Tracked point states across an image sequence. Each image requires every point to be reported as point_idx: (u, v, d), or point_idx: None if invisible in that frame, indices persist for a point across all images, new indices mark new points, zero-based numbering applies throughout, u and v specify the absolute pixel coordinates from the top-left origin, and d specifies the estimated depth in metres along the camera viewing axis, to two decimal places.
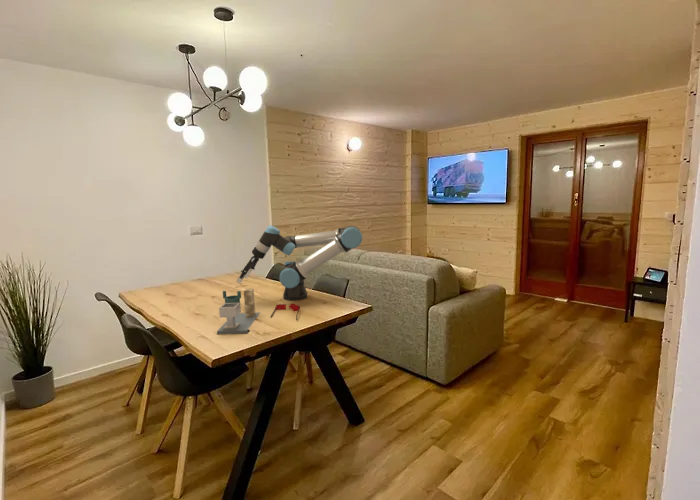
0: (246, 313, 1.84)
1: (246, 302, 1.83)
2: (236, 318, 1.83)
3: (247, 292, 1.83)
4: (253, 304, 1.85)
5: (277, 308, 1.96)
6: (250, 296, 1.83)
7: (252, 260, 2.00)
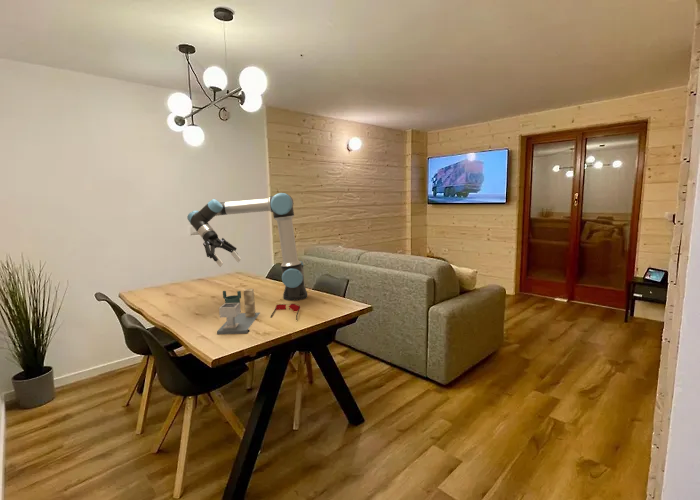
0: (246, 313, 1.84)
1: (246, 302, 1.83)
2: (236, 318, 1.83)
3: (247, 292, 1.83)
4: (253, 304, 1.85)
5: (277, 308, 1.96)
6: (250, 296, 1.83)
7: (204, 243, 1.90)
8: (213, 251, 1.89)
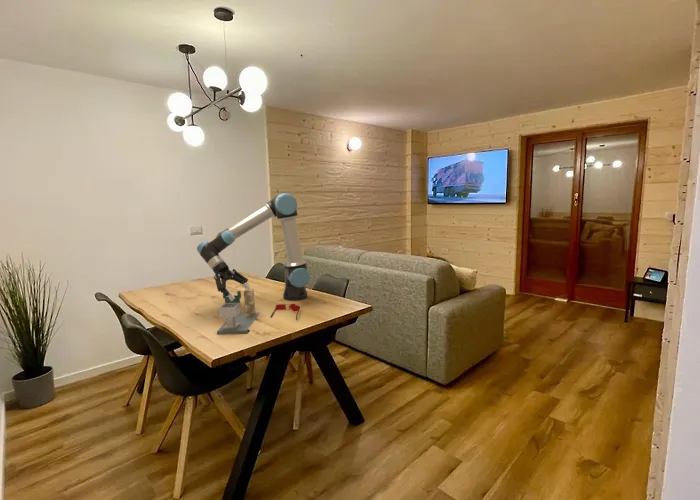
0: (246, 313, 1.84)
1: (246, 302, 1.83)
2: (236, 318, 1.83)
3: (247, 292, 1.83)
4: (253, 304, 1.85)
5: (277, 308, 1.96)
6: (250, 296, 1.83)
7: (215, 276, 1.83)
8: (224, 285, 1.81)
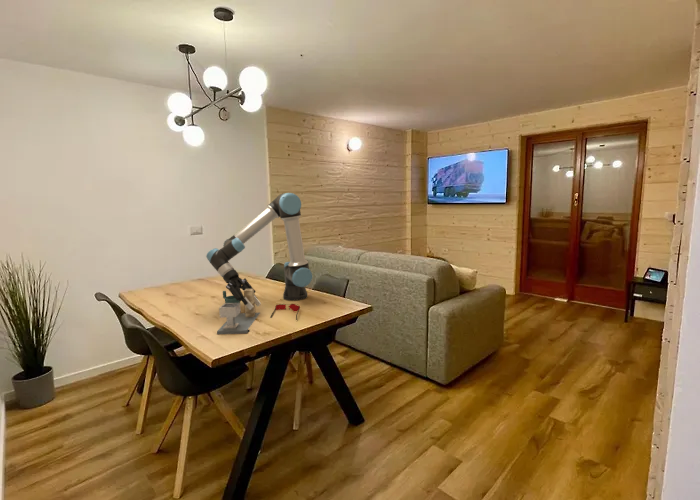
0: (246, 313, 1.84)
1: None
2: (236, 318, 1.83)
3: (247, 292, 1.83)
4: (253, 304, 1.86)
5: (277, 308, 1.96)
6: (250, 296, 1.83)
7: (228, 286, 1.81)
8: (241, 294, 1.82)
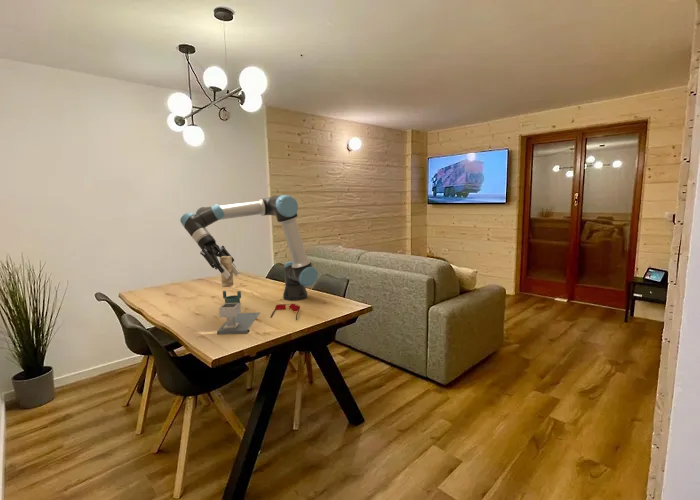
0: (222, 283, 1.66)
1: None
2: (236, 318, 1.83)
3: (224, 259, 1.65)
4: (231, 273, 1.68)
5: (277, 308, 1.96)
6: (227, 263, 1.65)
7: (202, 252, 1.64)
8: (217, 261, 1.64)
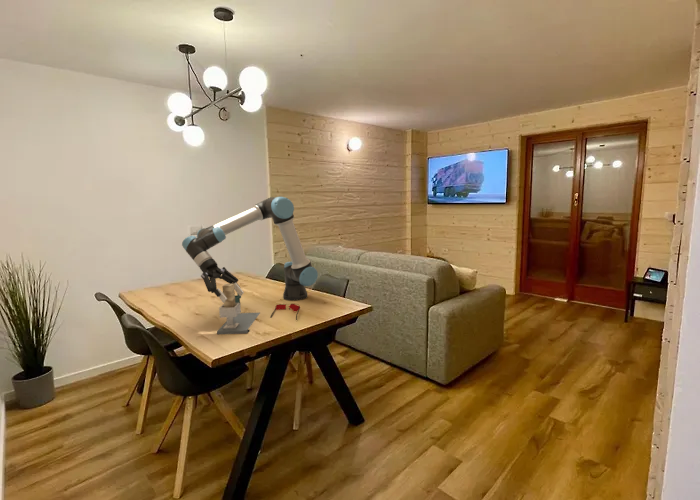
0: None
1: None
2: (236, 318, 1.83)
3: (226, 287, 1.66)
4: (233, 300, 1.69)
5: (277, 308, 1.96)
6: (229, 292, 1.67)
7: (203, 275, 1.65)
8: (215, 285, 1.64)
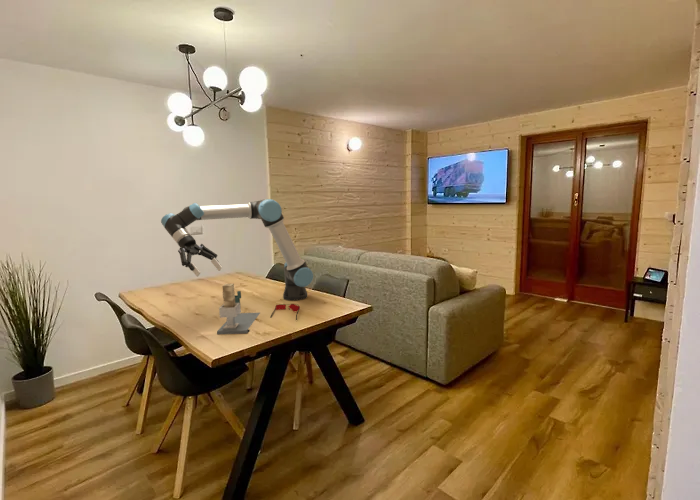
0: None
1: (225, 298, 1.67)
2: (236, 318, 1.83)
3: (226, 287, 1.67)
4: (233, 300, 1.69)
5: (277, 308, 1.96)
6: (229, 292, 1.67)
7: (179, 250, 1.69)
8: (189, 259, 1.67)
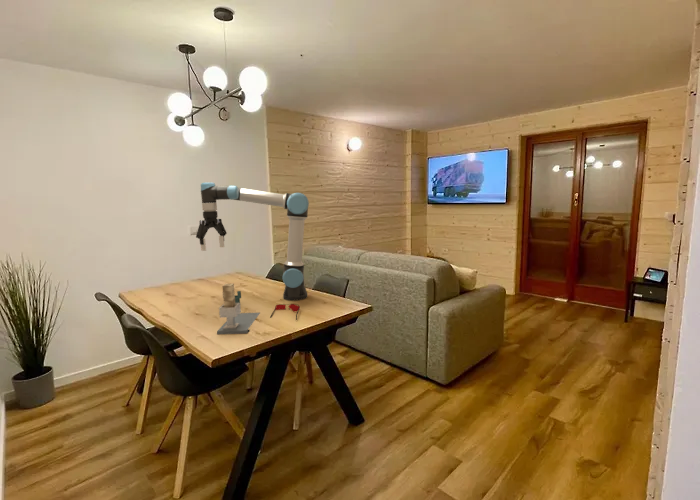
0: None
1: (225, 298, 1.67)
2: (236, 318, 1.83)
3: (226, 287, 1.67)
4: (233, 300, 1.69)
5: (277, 308, 1.96)
6: (229, 292, 1.67)
7: (201, 222, 1.93)
8: (204, 235, 1.94)
